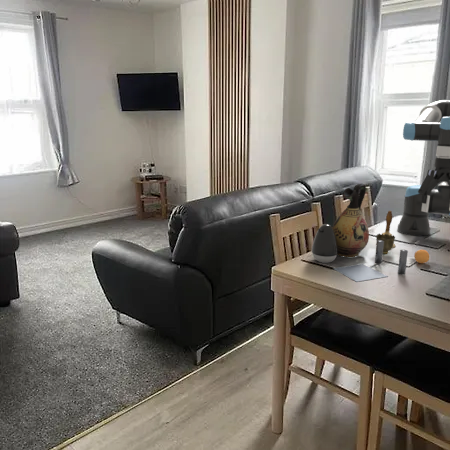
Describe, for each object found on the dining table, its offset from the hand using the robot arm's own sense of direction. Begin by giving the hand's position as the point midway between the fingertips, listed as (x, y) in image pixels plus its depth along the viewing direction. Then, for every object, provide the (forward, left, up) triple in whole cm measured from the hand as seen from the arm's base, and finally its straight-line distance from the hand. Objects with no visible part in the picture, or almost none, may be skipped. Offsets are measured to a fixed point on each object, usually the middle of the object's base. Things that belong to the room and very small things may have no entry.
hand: (438, 211), depth 178 cm
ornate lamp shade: (+14, -12, -20) cm, 28 cm away
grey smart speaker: (+43, -14, -20) cm, 50 cm away
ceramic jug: (+28, -17, -20) cm, 39 cm away
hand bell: (+5, -21, -20) cm, 30 cm away
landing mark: (+38, +2, -20) cm, 43 cm away
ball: (+8, +2, -17) cm, 19 cm away
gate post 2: (+24, +8, -20) cm, 32 cm away
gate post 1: (+24, -4, -20) cm, 32 cm away
